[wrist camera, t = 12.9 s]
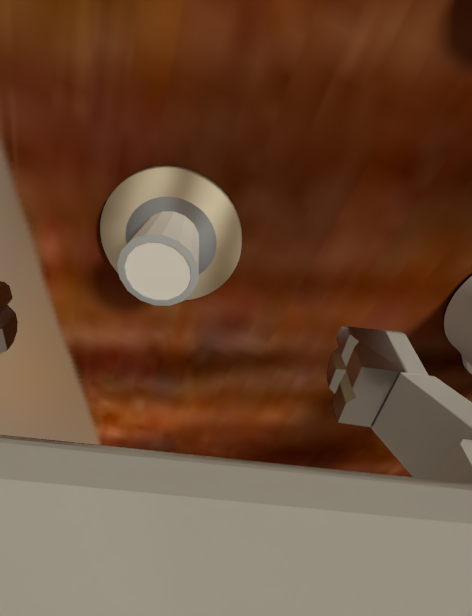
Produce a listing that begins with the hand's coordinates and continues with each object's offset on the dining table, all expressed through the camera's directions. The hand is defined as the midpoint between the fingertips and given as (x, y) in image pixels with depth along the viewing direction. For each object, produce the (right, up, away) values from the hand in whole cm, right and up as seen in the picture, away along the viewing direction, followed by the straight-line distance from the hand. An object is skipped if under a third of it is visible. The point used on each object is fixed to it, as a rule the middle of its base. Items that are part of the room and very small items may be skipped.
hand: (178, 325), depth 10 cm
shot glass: (-5, +7, +29) cm, 30 cm away
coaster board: (-5, +8, +30) cm, 31 cm away
